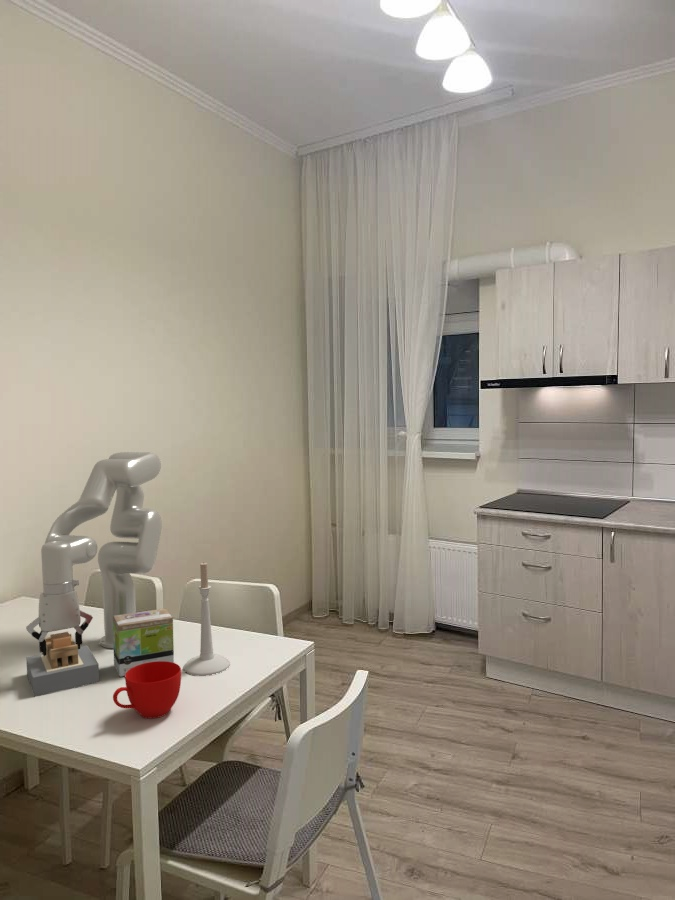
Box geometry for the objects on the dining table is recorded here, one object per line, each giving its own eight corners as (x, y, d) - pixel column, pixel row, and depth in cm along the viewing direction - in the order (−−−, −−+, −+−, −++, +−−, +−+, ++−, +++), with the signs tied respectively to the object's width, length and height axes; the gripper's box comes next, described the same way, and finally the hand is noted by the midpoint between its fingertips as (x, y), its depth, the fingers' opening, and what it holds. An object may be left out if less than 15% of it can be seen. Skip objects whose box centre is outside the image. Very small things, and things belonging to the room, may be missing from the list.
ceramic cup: (100, 719, 154) (98, 678, 153) (162, 695, 166) (161, 656, 166) (130, 737, 145) (128, 694, 144) (193, 710, 158) (191, 670, 157)
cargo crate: (68, 640, 180) (67, 631, 180) (71, 646, 176) (70, 637, 176) (50, 644, 178) (50, 634, 178) (53, 650, 174) (53, 640, 173)
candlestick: (184, 678, 176) (181, 569, 174) (183, 660, 189) (179, 558, 186) (232, 672, 180) (229, 565, 177) (227, 655, 192) (224, 555, 190)
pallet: (71, 650, 184) (70, 633, 183) (78, 663, 174) (77, 645, 174) (46, 655, 180) (45, 638, 180) (51, 669, 171) (50, 650, 171)
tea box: (119, 678, 177) (117, 625, 176) (113, 665, 186) (111, 614, 185) (175, 667, 184) (173, 616, 183) (166, 655, 193) (165, 606, 192)
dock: (88, 662, 188) (87, 644, 188) (99, 682, 175) (98, 663, 174) (27, 674, 180) (26, 656, 180) (33, 696, 167) (32, 676, 166)
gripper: (89, 579, 183) (92, 640, 185) (21, 589, 175) (24, 653, 176) (94, 585, 177) (97, 648, 178) (24, 596, 168) (27, 662, 169)
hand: (61, 650), depth 177 cm, fingers open, 8 cm apart
